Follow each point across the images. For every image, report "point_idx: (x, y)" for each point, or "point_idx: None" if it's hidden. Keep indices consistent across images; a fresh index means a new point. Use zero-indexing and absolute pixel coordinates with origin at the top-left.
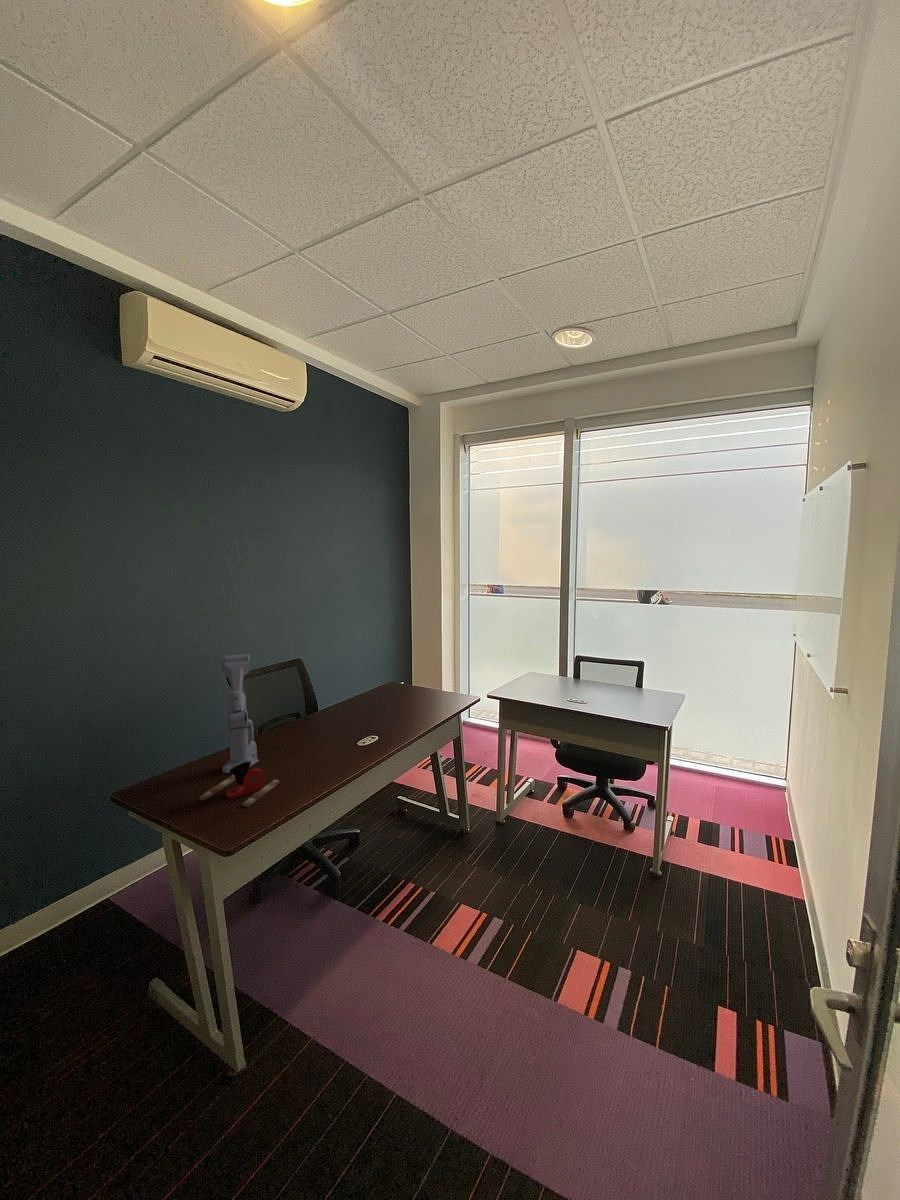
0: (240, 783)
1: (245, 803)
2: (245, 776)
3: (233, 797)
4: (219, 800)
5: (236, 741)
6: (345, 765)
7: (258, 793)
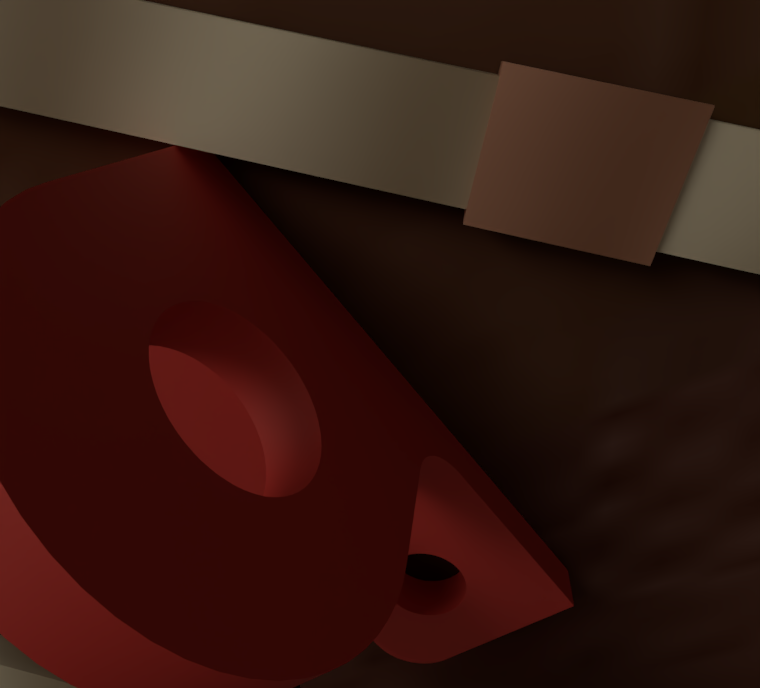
0: None
1: None
2: (343, 659)
3: (527, 527)
4: (593, 653)
5: None
6: None
7: (514, 139)
